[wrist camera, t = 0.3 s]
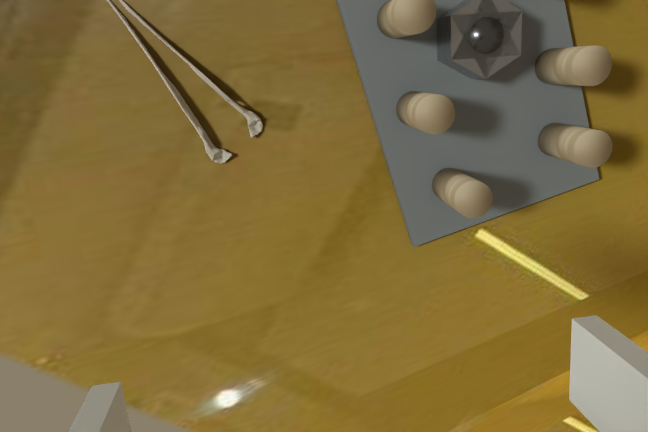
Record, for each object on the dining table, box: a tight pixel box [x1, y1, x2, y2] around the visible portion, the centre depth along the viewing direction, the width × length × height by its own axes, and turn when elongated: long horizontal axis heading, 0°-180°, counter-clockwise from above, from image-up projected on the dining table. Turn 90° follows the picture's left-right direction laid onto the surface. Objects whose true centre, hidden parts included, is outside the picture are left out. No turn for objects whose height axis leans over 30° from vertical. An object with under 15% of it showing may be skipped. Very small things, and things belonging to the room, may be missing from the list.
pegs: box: [377, 0, 613, 218], centre depth 39 cm, size 16×14×6 cm
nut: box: [437, 0, 522, 79], centre depth 39 cm, size 5×6×3 cm
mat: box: [336, 0, 599, 247], centre depth 41 cm, size 30×16×1 cm, turn 19°
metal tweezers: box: [107, 0, 263, 164], centre depth 39 cm, size 18×5×2 cm, turn 40°
